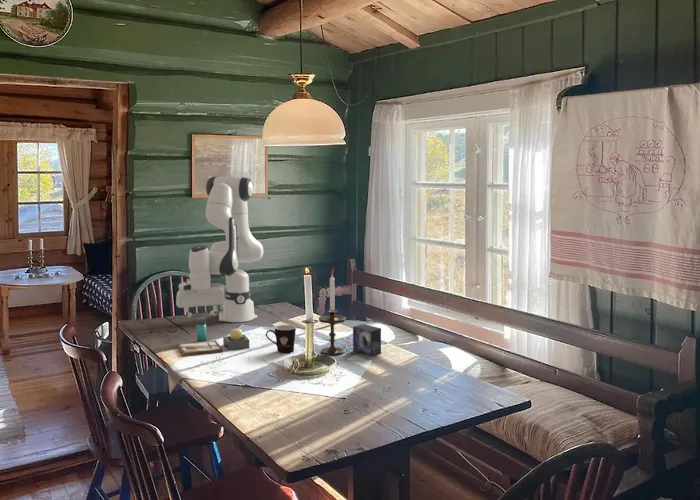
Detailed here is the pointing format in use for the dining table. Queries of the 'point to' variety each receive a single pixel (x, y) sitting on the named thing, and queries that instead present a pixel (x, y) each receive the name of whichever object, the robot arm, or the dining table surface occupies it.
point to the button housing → (236, 343)
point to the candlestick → (332, 322)
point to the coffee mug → (284, 338)
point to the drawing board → (199, 348)
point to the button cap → (236, 334)
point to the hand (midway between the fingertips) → (201, 316)
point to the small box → (367, 339)
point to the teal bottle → (201, 329)
